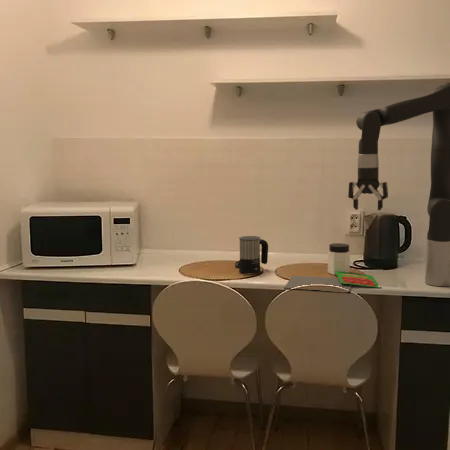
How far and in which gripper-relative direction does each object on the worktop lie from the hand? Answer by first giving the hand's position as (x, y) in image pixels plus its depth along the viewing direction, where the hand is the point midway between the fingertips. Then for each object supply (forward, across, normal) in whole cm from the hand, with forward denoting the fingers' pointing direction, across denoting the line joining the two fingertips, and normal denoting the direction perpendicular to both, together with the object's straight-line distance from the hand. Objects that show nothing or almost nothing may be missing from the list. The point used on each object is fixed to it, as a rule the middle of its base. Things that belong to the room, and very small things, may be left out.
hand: (367, 209), depth 219 cm
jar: (+29, +16, -16) cm, 37 cm away
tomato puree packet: (+28, +1, +4) cm, 29 cm away
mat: (+29, +17, +6) cm, 34 cm away
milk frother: (+28, +53, -5) cm, 60 cm away
